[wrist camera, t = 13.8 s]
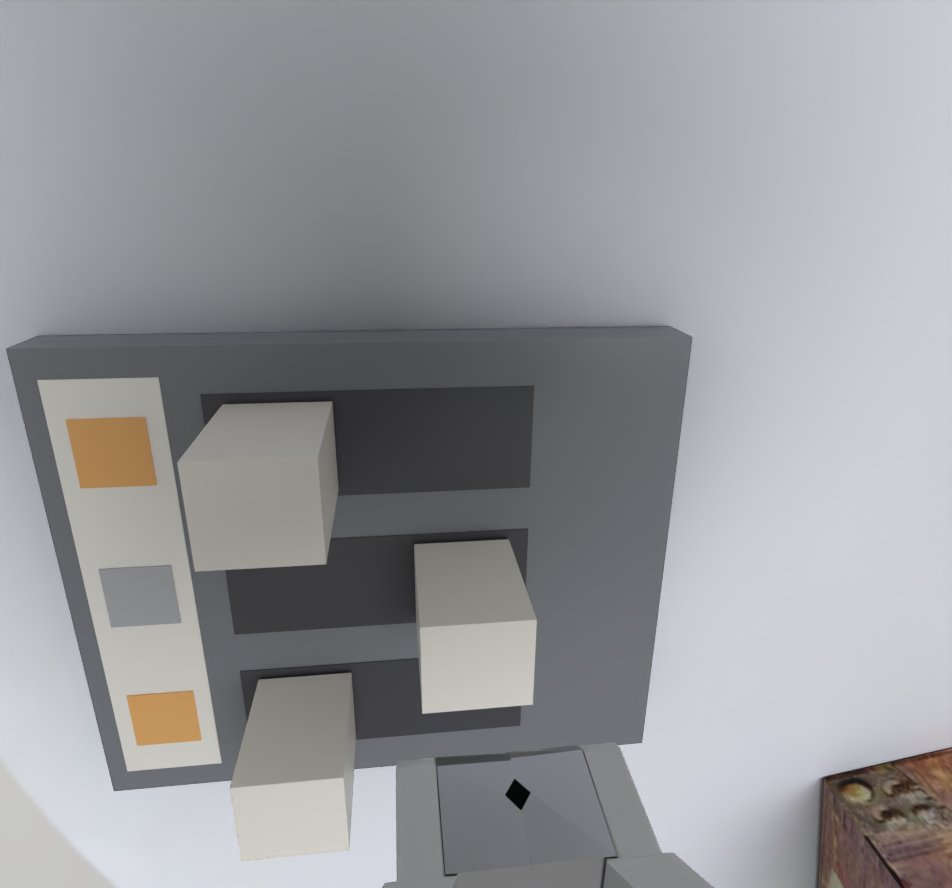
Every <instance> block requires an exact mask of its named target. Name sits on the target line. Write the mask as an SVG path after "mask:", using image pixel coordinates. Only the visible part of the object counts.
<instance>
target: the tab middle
mask: <svg viewBox="0 0 952 888" xmlns="http://www.w3.org/2000/svg"><path fill="white" fill-rule="evenodd" d="M414 562H415V599H416V625H417V641H418V656H419V671H420V686H421V701H422V714H426V713H438V712H450V711H463V710H475V709H487V708H499V707H511V706H523V705H533V690H534V670H535V649H536V628H537V619H536V616H535V613H534V610H533V607H532V604H531V601H530V598H529V596H528V593H527V590H526V587H525V584H524V581H523V578H522V575H521V573H520V570H519V567H518V564H517V561H516V558H515V555H514V552H513V550H512V547H511V544H510V541H509V539H504V540H485V541H466V542H447V543H428V544H414Z"/></svg>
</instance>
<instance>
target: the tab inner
mask: <svg viewBox="0 0 952 888" xmlns="http://www.w3.org/2000/svg"><path fill="white" fill-rule="evenodd" d="M177 465H178V471H179V477H180V483H181V489H182V496H183V502H184V508H185V514H186V520H187V527H188V533H189V539H190V545H191V551H192V558H193V564H194V570H195V572H198V571H216V570H234V569H252V568H270V567H288V566H306V565H324V564H326V563H327V557H328V551H329V545H330V539H331V533H332V526H333V520H334V514H335V508H336V502H337V496H338V490H339V488H338V474H337V460H336V445H335V431H334V417H333V403H332V401H328V402H291V403H254V404H222V406H221V407H220V408H219V409H218V411H217V412H216V413H215V415H214V416H213V417H212V418H211V420H210V421H209V422H208V424H207V425H206V426H205V427H204V429H203V430H202V431H201V433H200V434H199V435H198V436H197V438H196V439H195V440H194V442H193V443H192V444H191V445H190V447H189V448H188V449H187V450H186V452H185V453H184V454H183V456H182V457H181V458H180V459H179V461H178V462H177Z"/></svg>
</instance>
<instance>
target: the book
mask: <svg viewBox="0 0 952 888" xmlns="http://www.w3.org/2000/svg"><path fill="white" fill-rule="evenodd" d="M819 888H952V748H950V749H946V750H942V751H937V752H933V753H929V754H925V755H920V756H916V757H912V758H908V759H903V760H899V761H895V762H891V763H886V764H882V765H878V766H874V767H869V768H865V769H861V770H856V771H852V772H848V773H844V774H839V775H835V776H831V777H827V778H824V787H823V807H822V827H821V847H820V867H819Z"/></svg>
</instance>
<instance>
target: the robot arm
mask: <svg viewBox="0 0 952 888" xmlns="http://www.w3.org/2000/svg"><path fill="white" fill-rule="evenodd" d="M396 846H397V882H390V883H385V884H384V885H383V887H382V888H714V887H713V886H711V885H710V884H709V883H708V882H707V881H706V880H704V879H703V878H702V877H701V876H700V875H699V874H698V873H696V872H695V871H694V870H693V869H692V868H691V867H690V866H688V865H687V864H686V863H685V862H684V861H683V860H681V859H680V858H679V857H678V856H677V855H676V854H675V853H662V852H661V849H660V847H659V844H658V842H657V839H656V837H655V834H654V832H653V829H652V827H651V824H650V822H649V819H648V817H647V814H646V812H645V809H644V807H643V804H642V802H641V799H640V797H639V794H638V792H637V789H636V787H635V784H634V782H633V779H632V777H631V774H630V772H629V769H628V767H627V764H626V762H625V759H624V757H623V754H622V752H621V749H620V748H619V746H618V745H617V744H616V743H615V742H611V743H600V744H589V745H579V746H576V745H573V746H563V747H553V748H543V749H533V750H522V751H512V752H507V753H501V754H484V755H467V756H450V757H436V759H434V758H425V759H410V760H397V767H396Z"/></svg>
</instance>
